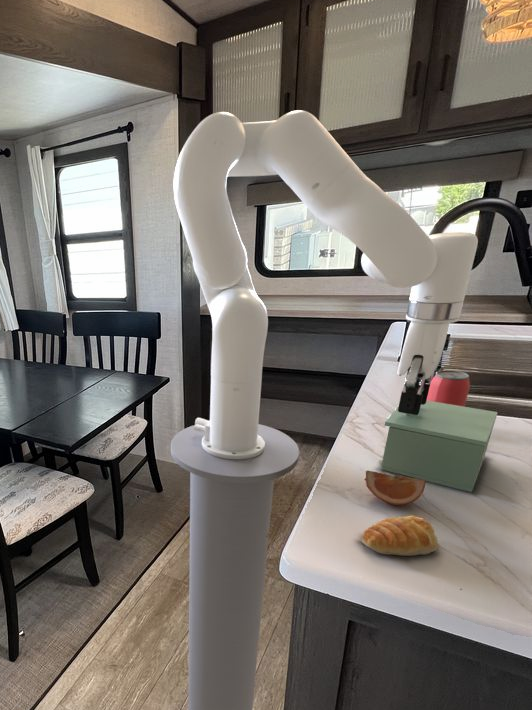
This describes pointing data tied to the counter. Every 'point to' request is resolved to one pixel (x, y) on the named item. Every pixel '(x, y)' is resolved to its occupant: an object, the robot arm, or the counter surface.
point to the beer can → (449, 387)
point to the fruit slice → (394, 487)
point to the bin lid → (447, 422)
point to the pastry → (401, 536)
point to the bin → (433, 458)
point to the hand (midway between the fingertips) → (411, 407)
